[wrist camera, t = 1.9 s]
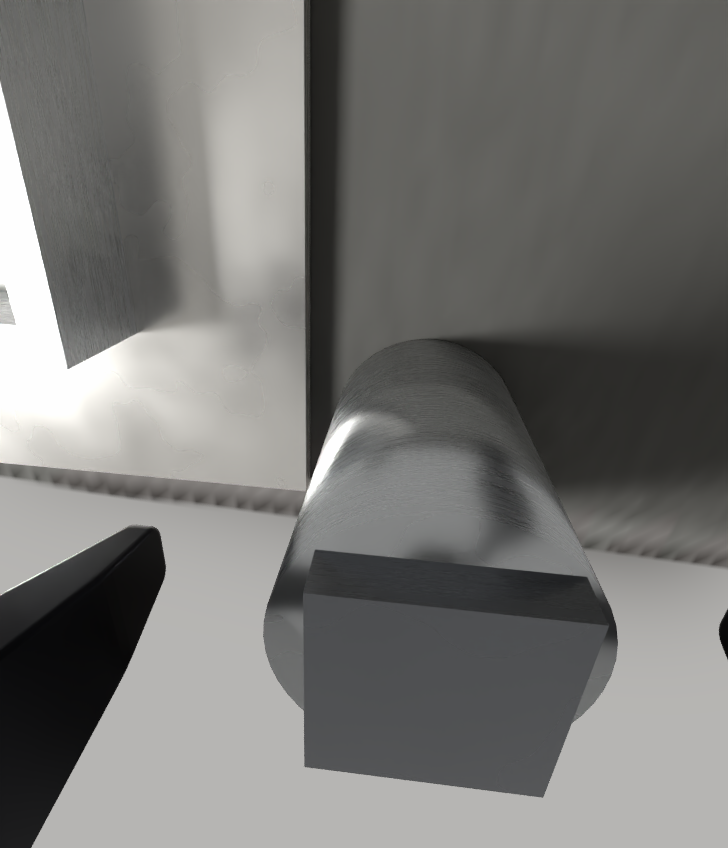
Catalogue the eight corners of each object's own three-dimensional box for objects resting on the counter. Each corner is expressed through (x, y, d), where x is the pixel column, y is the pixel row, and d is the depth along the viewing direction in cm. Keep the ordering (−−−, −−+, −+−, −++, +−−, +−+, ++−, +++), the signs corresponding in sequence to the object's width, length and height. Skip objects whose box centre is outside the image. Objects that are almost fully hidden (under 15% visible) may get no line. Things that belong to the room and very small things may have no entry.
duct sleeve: (529, 346, 12) (704, 581, 5) (496, 504, 14) (583, 831, 7) (338, 332, 12) (234, 534, 5) (334, 489, 14) (256, 788, 7)
